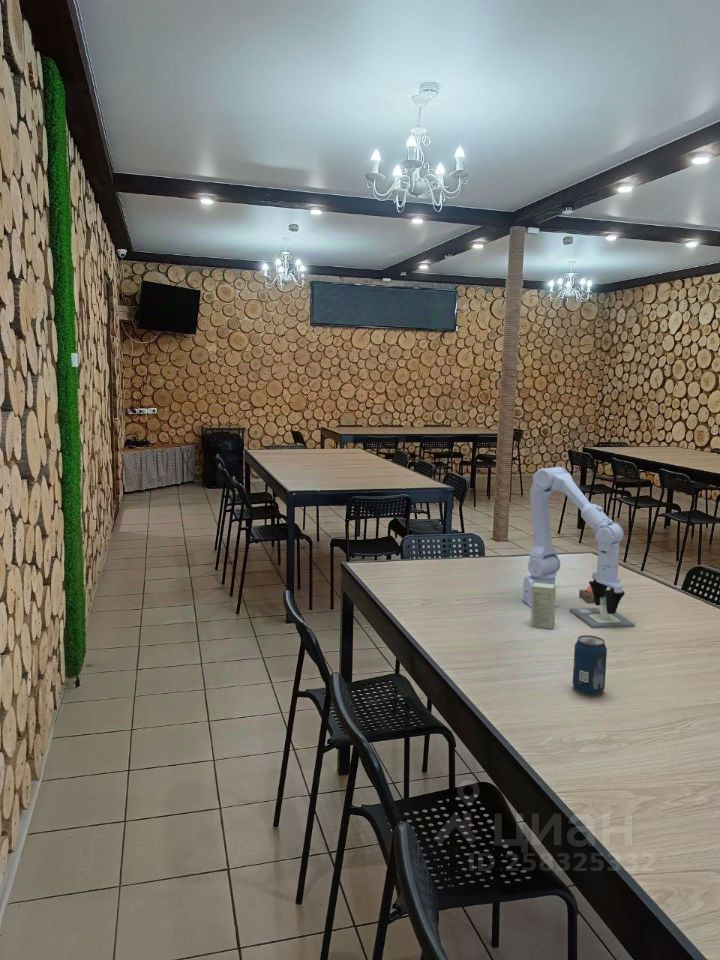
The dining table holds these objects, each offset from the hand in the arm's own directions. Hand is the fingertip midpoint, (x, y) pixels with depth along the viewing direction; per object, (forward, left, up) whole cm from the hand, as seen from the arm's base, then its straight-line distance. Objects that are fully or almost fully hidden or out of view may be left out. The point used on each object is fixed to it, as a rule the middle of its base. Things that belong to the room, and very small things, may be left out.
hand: (605, 609), depth 199 cm
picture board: (0, +2, -4) cm, 4 cm away
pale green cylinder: (0, 0, -3) cm, 3 cm away
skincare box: (-20, -2, -4) cm, 20 cm away
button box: (+6, +20, -4) cm, 21 cm away
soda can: (-26, -44, -4) cm, 51 cm away
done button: (+6, +20, -4) cm, 21 cm away
